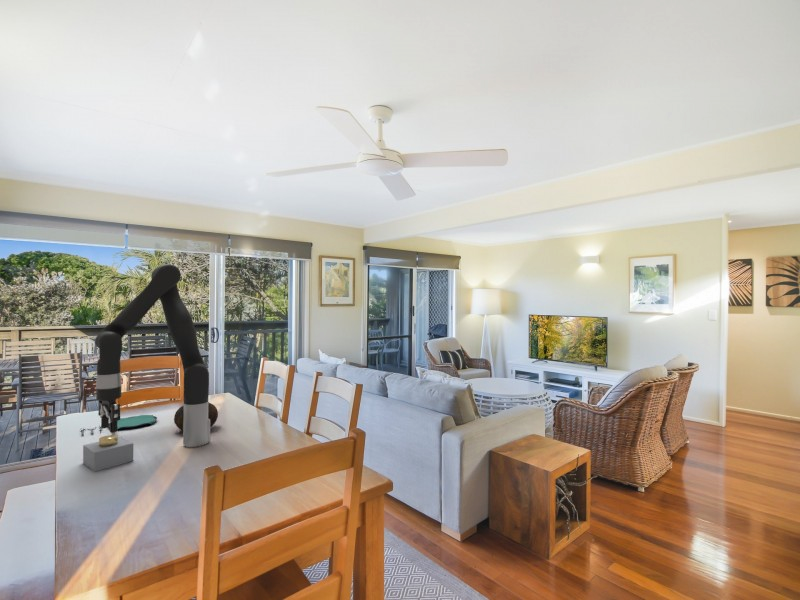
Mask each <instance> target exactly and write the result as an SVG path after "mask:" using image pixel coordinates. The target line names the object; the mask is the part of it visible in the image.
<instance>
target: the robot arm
mask: <svg viewBox="0 0 800 600" xmlns="http://www.w3.org/2000/svg"><path fill="white" fill-rule="evenodd" d="M150 277H151V279H150V282H149V283H148V284H147V285H146V286H145V288H143V290H142V291H141V292H140V293H139V294H138V295H136V296H135V297H134V298H133V299H132V300H131V301H130V302H128V304H127V305H126V306H125V307H124V308H122V310H121V311H120V312H119V313H118V314H117V316H116V317H115V318H114V319H113V320H112V321H110V323H109V324H108V325H107V326H105V327H104V328H103V329H102V330H101V331H100V332H99V333H98V334H97V336H96V337H95V340H94V341H95V342H94V343H95V346H96V347H97V348H98V349H99V356H98V357H99V359H97V362H96V381H95V383H96V384H95V386H96V388H95V390H96V391H95V394H96V396H95V398H96V401H98V413H97V414H98V416H99V418H100V425H101V428H102V429H108V428H109V433H111V434H112V433H113V432H115V433H116V432H118V430H117V421H118V420H120V418H121V404H120V403H118V402H116V400H118V399H121V397H122V376H121V357H122V352H123V339H122V338H123V337H124V336H125V335H126V334H127V333H129V332H131V331H132V330H133V329H134V328H135V327H136V326H137V325H138V324H139V323H140V322H141V320H142V319H143V318H144V317H145V316H146V314H148V312H150V310H151V308H152V307H154V305H155V304H156V303H157V301H158V300H160V301H161V305H162V310H163V314H164V319H165V321H166V325H167V328H168V331H169V335H170V337H171V339H172V342H173V344H174V346H175V348H176V350H177V351H178V353H179V356H180V359H181V363H182V369H183V405H184V419H183V431H182V432H183V433H182V441H183V442H182V443H183V444H182V446H183V445H184V446H183V447H185V446H186V447H185V448H198V447H202V446H204V444H205V445H207V444H208V442H209V443H211V428H210V419H208V402H209V396H210V395H209V394H210V386H209V385H210V372H209V370H208V367H207V365H206V363H205V362H204V360H203V357H202V355H201V352H200V349H199V344H198V338H197V333H196V332H197V331H196V327H195V324H194V321H193V319H192V316H191V313H190V311H189V309H188V308H187V306H186V304H184V302H183V300H182V298H181V296H180V292H179V288H178V283H179V282H180V281H181V277H182V276H181V270H180V269H179V268H178V267H177V266H176V265H173V264H171V263H167V264H162V265H159V266H157V267H155V269H154V270H153V271H152V272H151V276H150ZM109 423H110V427H109ZM206 443H207V444H206ZM201 445H202V446H201ZM197 446H198V447H197Z"/></svg>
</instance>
